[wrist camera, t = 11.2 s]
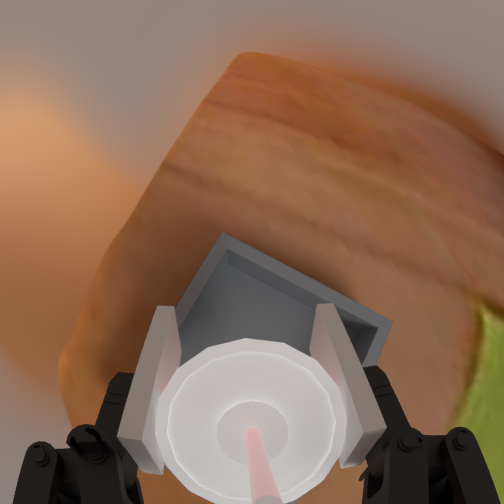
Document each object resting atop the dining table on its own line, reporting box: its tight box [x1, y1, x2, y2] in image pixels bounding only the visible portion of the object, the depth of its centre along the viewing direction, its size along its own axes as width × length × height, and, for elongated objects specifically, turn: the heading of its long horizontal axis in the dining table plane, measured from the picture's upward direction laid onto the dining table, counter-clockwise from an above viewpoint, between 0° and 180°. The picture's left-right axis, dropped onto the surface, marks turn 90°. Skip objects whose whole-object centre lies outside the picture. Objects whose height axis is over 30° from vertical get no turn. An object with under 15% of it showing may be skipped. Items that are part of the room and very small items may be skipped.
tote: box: [164, 232, 393, 504], centre depth 22 cm, size 18×15×5 cm
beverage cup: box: [155, 338, 347, 504], centre depth 10 cm, size 6×6×14 cm
